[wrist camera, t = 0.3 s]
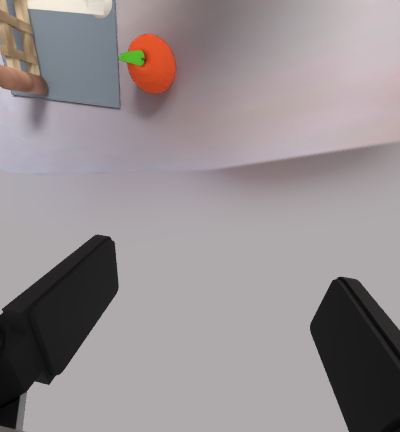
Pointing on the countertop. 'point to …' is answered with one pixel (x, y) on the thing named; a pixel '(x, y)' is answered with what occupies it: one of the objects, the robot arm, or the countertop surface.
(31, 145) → the countertop surface
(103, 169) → the countertop surface
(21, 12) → the fence panel
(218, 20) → the countertop surface
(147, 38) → the clementine
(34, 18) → the card
